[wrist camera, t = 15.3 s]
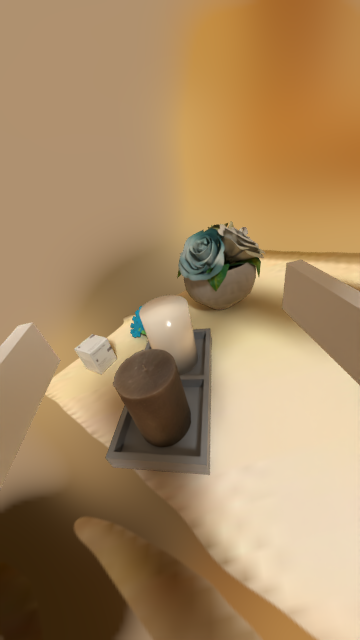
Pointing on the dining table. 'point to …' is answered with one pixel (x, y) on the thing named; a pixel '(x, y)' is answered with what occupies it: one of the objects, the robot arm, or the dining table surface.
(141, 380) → the pillar candle
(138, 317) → the gear
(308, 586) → the dining table surface
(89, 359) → the skincare box
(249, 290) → the flower arrangement
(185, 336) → the white candle
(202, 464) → the tray
